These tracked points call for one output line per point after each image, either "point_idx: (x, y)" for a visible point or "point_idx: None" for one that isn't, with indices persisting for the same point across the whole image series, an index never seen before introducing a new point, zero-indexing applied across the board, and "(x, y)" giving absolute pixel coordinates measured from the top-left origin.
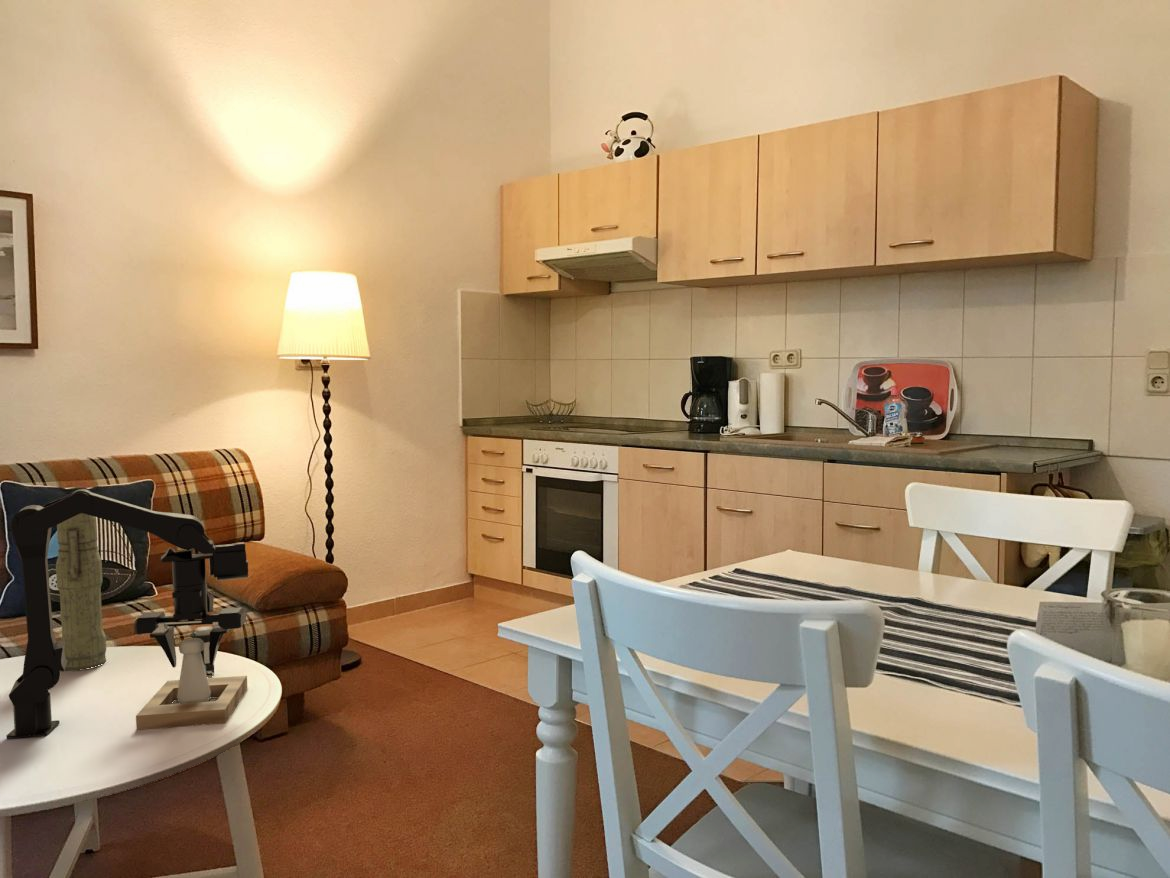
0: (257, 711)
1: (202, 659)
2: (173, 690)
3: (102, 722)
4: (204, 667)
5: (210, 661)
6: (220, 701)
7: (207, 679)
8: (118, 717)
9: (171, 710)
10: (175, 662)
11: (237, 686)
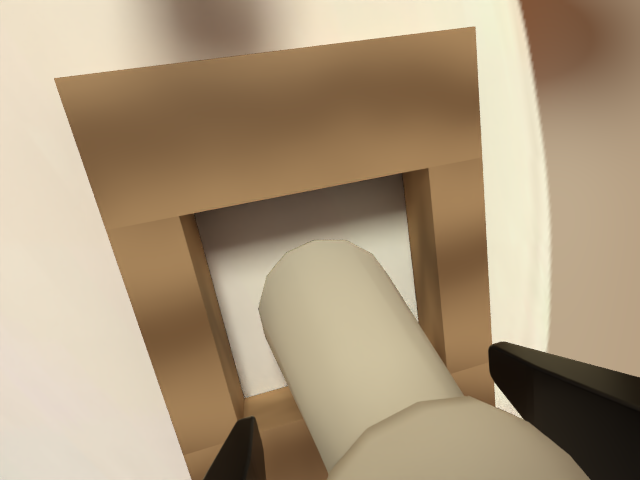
0: (529, 312)
1: (455, 383)
2: (183, 224)
3: (32, 452)
4: (430, 343)
5: (516, 405)
6: (462, 377)
7: (405, 304)
8: (63, 401)
9: (322, 477)
10: (260, 458)
11: (475, 202)
